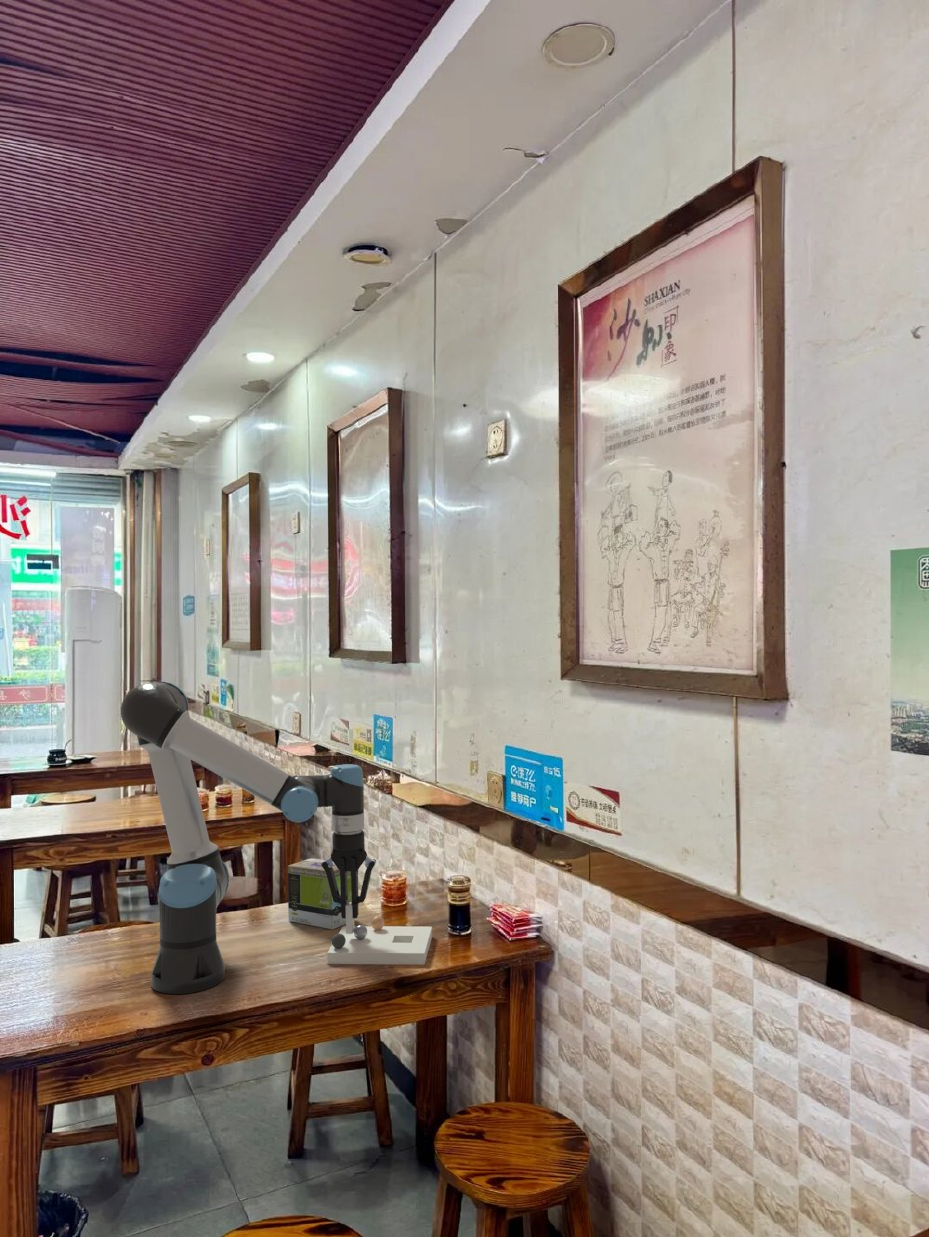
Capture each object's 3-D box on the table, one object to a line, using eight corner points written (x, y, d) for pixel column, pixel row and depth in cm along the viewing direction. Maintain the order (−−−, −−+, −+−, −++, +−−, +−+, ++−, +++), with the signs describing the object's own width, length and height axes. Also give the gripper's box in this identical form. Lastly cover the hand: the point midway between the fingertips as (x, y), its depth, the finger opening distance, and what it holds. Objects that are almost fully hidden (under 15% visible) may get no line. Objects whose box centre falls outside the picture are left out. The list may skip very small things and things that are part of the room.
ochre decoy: (370, 931, 207) (369, 918, 207) (372, 927, 211) (372, 914, 211) (383, 931, 207) (383, 918, 207) (385, 927, 210) (385, 914, 210)
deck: (327, 963, 194) (327, 952, 194) (343, 936, 212) (343, 926, 212) (424, 964, 193) (424, 953, 193) (432, 936, 211) (432, 926, 211)
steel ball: (349, 936, 201) (356, 924, 201) (352, 932, 204) (359, 920, 204) (361, 943, 201) (368, 932, 201) (364, 939, 204) (370, 927, 204)
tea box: (356, 919, 225) (356, 862, 225) (331, 931, 216) (331, 871, 216) (312, 911, 232) (311, 855, 233) (286, 921, 224) (286, 864, 224)
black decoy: (330, 950, 195) (330, 936, 195) (333, 945, 198) (333, 931, 199) (344, 950, 195) (344, 936, 195) (346, 945, 198) (346, 931, 198)
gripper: (317, 834, 200) (319, 937, 199) (373, 834, 199) (375, 937, 199) (324, 827, 207) (326, 926, 207) (378, 827, 207) (380, 926, 206)
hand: (350, 931), depth 203 cm, fingers closed
